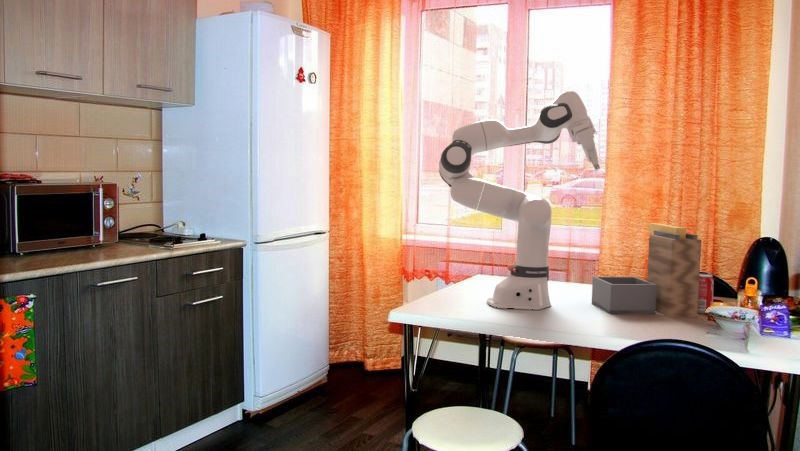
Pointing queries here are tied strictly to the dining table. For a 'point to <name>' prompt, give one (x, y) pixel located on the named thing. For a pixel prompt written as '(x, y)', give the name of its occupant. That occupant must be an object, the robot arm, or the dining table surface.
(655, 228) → the bar
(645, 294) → the bin
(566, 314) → the dining table surface
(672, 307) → the stand
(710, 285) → the soda can
